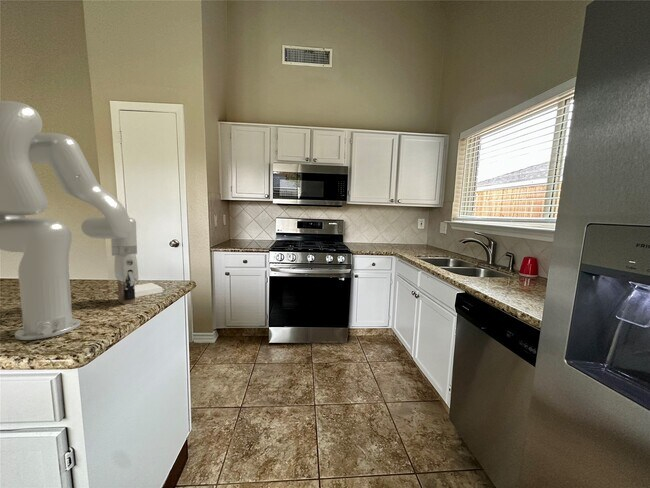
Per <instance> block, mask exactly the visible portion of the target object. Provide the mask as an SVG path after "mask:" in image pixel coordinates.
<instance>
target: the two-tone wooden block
mask: <svg viewBox="0 0 650 488" xmlns="http://www.w3.org/2000/svg"><path fill="white" fill-rule="evenodd" d="M116 281H117V298H118V299H117V300H118V303H121V304H122V305H128V304H133V303H134V304H135V302H136V298H135V299H132V300H126V301H125V300H124V290H125V287H124V282H122V281H120V280H118V279H116ZM126 281H129V280H126ZM127 285H128V283H127Z"/></svg>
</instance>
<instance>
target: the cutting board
mask: <svg viewBox="0 0 650 488" xmlns="http://www.w3.org/2000/svg"><path fill="white" fill-rule="evenodd" d="M134 286H135V298H138V297H144V296H148V295H153V294H161V293H163V291H164V289H163V286H160V285H157V284H155V283H152V282H147V283H142V284H136V285H134Z"/></svg>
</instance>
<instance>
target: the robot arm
mask: <svg viewBox="0 0 650 488" xmlns="http://www.w3.org/2000/svg"><path fill="white" fill-rule="evenodd" d="M42 130H43V119H42V117H41V115H40V113H39V112H38V111H37V110H36V109H35V108H34V107H32V106H30V105H28V104H27V103H23V102H19V101H13V100H0V250H2V251H5V252H11V253H23V255H22V258H21V259H20V262H19V265H18V269H17V271H18V273H17V275H18V282H19V295H20V296H19V297H20V304H21V305H20V306H21V317H22V318H21V319H22V327H21V328H19V329H18V330H16V331H15V332H14V338H15V339H16V340H19V341H20V340H21V341H33V340H35V341H36V340H42V339H48V338H52V337H56V336H60V335H62V334H66V333H68V332H69V333H70V331H73V330H76V329H77V328H78V327H80V324H81V321H80V319H78V318H74V317H73V309H72V296H71V295H72V294H71V283H70V282H71V281H70V267H69V266H70V265H69V261H70V260H69V259H70V258H69V256H70V250H71V245H72V237H73V236H72V233H71V230H70V228H69V227H68V226H67V225H66V224H64V223H63V222H61V221H58V220H56V219H52V218H51V219H50V218H43V217H38V218H37V217H36V218H35V217H26V216H35V215H38V214H41V213H42V212H44V211H46V209H47V208H48V205H49V201H48V198H47V195H46V193H45V191H44V189H43V186H42V184H41V182H40V180H39V178H38V176H37V174H36V172H35V170H34V168H33V165H32V163H34V164H41V165H42V164H43V165H46V164H47V165H48V166H49V168H50V169H51V172H53V174H54V176H55V177H56V179H57V181H58V183H59V184H60V186H61V187H62V190H63V191H64V192H65V193H66V194H67V195H69V196H71V197H74V198H75V199H78V200H80V201H82V202H85V203H87V204H88V205H91V206H92V207H94V208H95V209H97V210H98V211H99V212H100V213H101V214H102V215H103V216H91V217H88V218H86V219H84V220H83V222H81V231H82V233H83V234H84V235H86V236H87V237H90V238H92V239H102V240H103V239H105V240H107V239H108V240H109V239H110V241H111V256H114V277H115V279H116V280H120V281H122V282H124V287H125V290H124V300H125V301H126V300H132V299H135V300H136V297H135V286H134V285H135V283H136V282H137V281H138V280H139V270H138V269H139V267H138V266H139V265H138V260H137V254H138V240H137V239H138V238H137V221H136V219H135V218H132V217H130V216H129V214H128V212H127V210H126V208H125V207H124V205H123V204H122V203H121V201H119V200H118V198H117V197H115V196H114V195H113V194H112V193H110V192H109V191H108V190H107V189H105V188H104V187H102V185H101V184H99V182H98V180H97V179H96V178H97V177H96V176H95V174H94V173H93V170H92V169H91V167H90V164H89V163H88V161H87V159H86V157H85V155H84V152H83V151H82V148H81V147H80V145H79V144H78V142H77V141H76V140H75V139H74V138H73V137H71V136H69V135H67V134H63V133H57V132H42ZM126 280H129V281H126ZM127 283H128V285H127Z"/></svg>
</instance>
